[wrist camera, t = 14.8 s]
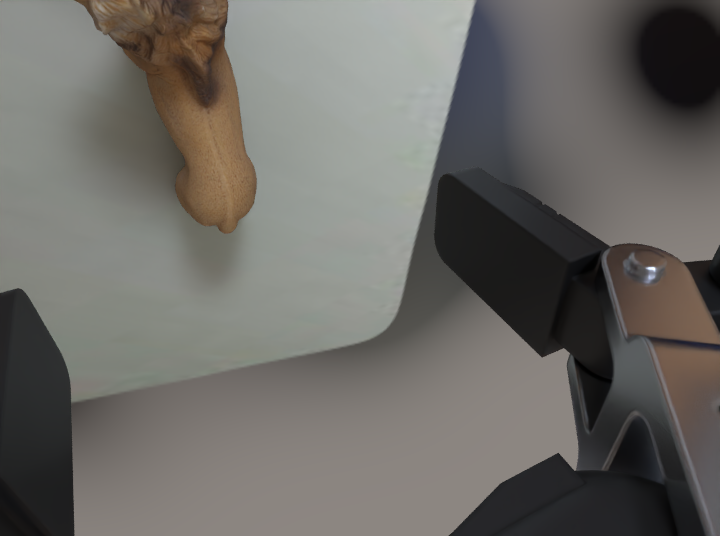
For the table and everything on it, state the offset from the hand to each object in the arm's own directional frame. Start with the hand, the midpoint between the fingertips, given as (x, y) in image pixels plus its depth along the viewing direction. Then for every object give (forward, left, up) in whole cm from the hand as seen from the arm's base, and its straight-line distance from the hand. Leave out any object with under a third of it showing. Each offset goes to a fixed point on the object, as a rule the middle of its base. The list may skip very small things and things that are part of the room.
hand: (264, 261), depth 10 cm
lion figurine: (0, 0, -17) cm, 17 cm away
